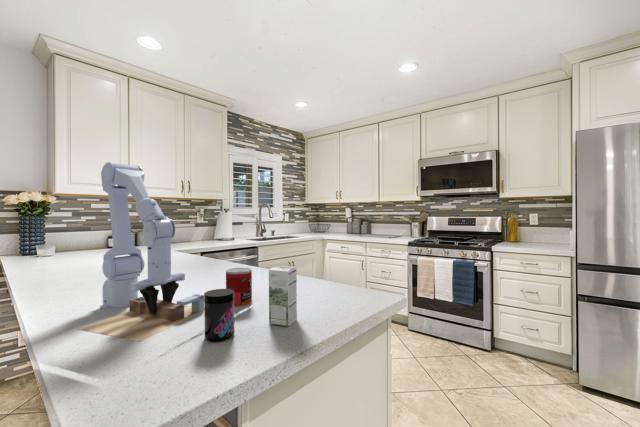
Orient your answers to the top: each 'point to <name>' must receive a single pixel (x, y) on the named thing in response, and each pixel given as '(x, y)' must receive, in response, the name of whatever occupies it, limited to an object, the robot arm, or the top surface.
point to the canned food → (240, 285)
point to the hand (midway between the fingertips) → (159, 311)
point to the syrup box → (282, 295)
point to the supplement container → (219, 314)
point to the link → (158, 309)
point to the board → (135, 325)
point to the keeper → (194, 302)
